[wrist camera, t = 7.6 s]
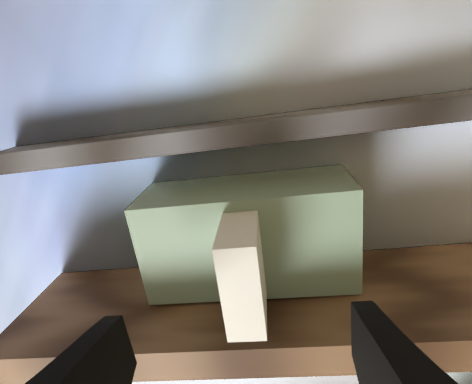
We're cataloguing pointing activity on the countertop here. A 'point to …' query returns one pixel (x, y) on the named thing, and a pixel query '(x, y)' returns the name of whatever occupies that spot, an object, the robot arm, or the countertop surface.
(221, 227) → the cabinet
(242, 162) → the countertop surface
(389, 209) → the countertop surface
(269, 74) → the countertop surface
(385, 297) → the wall board
